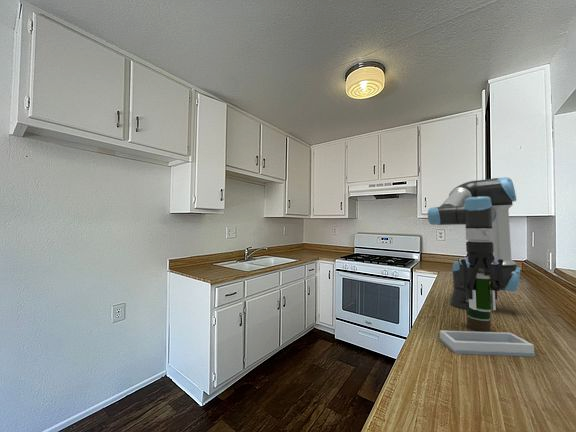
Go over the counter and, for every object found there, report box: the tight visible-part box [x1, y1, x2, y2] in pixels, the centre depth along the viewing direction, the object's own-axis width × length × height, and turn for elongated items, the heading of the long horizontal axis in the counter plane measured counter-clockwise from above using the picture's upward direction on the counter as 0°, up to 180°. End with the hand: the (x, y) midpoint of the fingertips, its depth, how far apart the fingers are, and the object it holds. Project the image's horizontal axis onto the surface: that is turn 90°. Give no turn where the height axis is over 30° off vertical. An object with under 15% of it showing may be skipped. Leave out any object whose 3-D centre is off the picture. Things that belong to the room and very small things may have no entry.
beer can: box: [473, 273, 493, 313], centre depth 85 cm, size 5×5×12 cm
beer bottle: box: [466, 269, 492, 332], centre depth 101 cm, size 8×8×24 cm
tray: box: [438, 329, 536, 358], centre depth 85 cm, size 10×24×4 cm, turn 84°
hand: (482, 308), depth 85 cm, fingers closed on beer can, 5 cm apart
